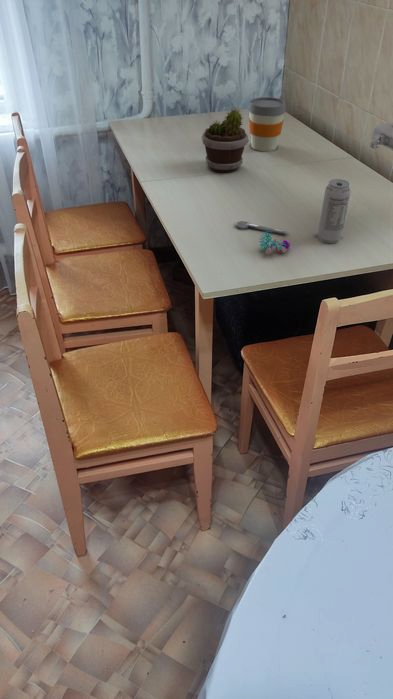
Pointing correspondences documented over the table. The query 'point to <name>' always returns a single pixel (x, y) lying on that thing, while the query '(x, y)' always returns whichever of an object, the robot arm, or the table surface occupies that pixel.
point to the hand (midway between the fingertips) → (385, 152)
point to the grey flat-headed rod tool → (258, 227)
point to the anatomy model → (268, 249)
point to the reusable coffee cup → (265, 122)
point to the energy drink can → (334, 210)
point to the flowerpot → (225, 143)
